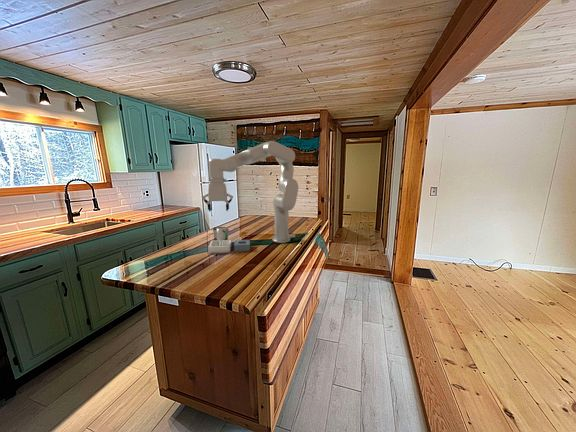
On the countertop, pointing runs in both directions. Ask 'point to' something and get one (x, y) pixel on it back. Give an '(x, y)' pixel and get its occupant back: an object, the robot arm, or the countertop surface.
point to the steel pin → (220, 237)
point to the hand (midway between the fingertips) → (218, 210)
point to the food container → (225, 232)
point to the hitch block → (242, 245)
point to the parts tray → (219, 247)
